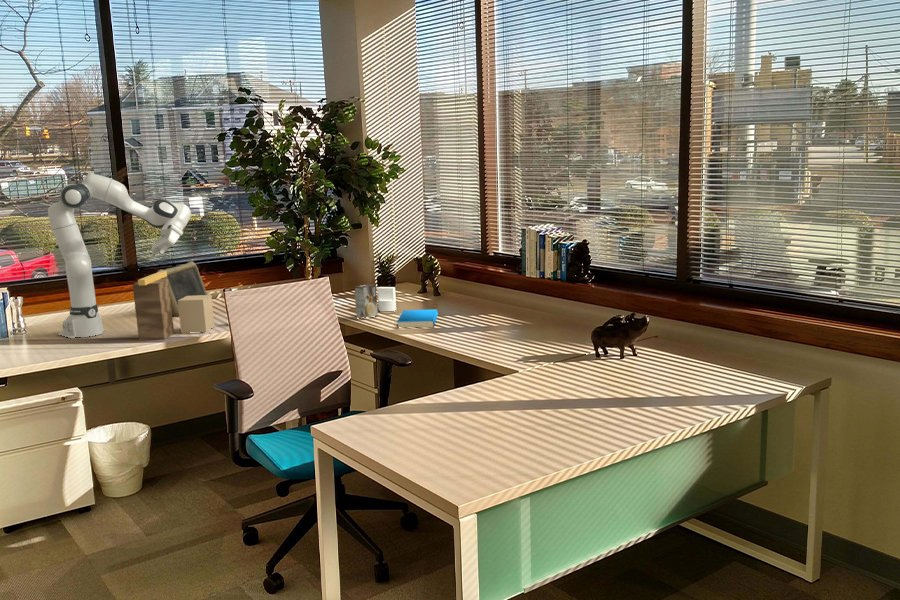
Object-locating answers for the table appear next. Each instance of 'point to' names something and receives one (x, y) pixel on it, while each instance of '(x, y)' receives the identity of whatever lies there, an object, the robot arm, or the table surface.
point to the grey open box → (183, 284)
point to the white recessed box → (386, 298)
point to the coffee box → (366, 300)
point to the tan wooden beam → (152, 278)
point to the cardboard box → (196, 313)
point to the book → (417, 318)
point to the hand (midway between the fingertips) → (156, 255)
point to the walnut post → (153, 310)
